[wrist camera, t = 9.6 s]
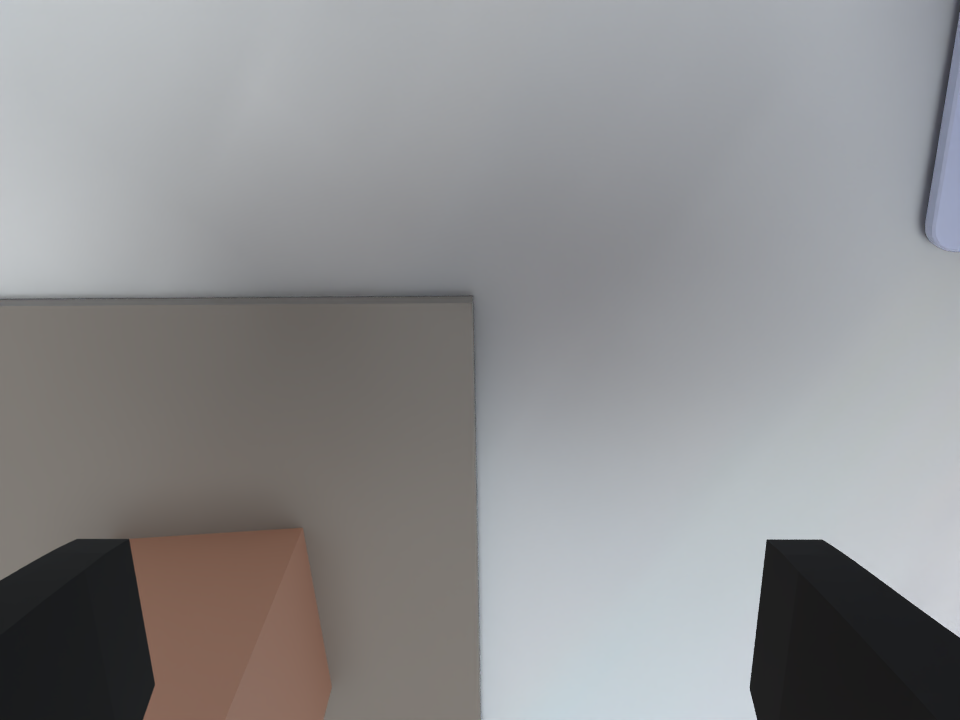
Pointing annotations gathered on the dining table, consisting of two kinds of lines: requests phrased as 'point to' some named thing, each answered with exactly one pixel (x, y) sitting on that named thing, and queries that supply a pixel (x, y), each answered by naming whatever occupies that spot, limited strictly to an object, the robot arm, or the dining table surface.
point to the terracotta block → (232, 626)
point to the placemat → (268, 460)
